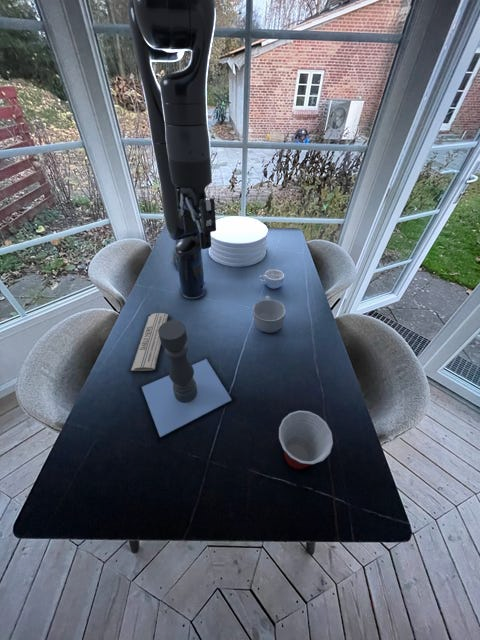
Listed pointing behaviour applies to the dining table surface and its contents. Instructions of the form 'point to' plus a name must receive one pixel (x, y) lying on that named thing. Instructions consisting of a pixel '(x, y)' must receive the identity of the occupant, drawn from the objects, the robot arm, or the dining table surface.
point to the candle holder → (178, 360)
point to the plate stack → (238, 241)
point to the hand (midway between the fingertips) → (197, 239)
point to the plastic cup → (304, 439)
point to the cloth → (178, 414)
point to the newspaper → (149, 344)
